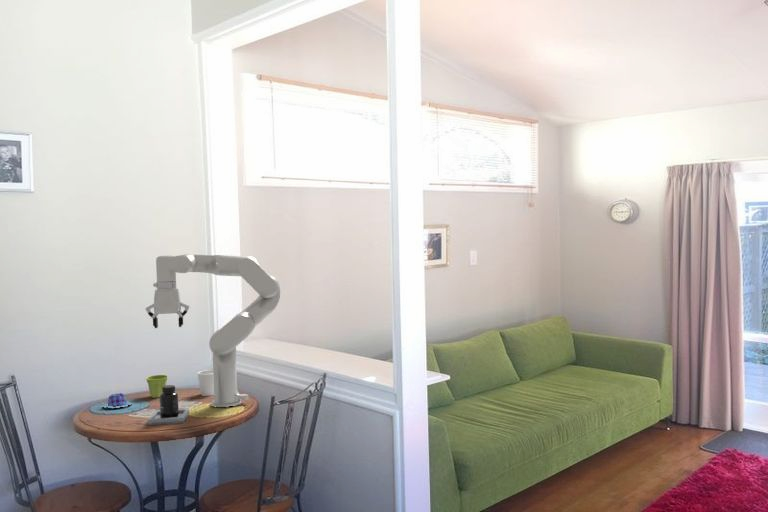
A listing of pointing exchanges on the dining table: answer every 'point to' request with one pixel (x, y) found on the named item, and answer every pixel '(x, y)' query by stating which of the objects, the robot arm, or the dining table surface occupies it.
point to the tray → (157, 420)
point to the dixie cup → (206, 382)
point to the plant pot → (156, 384)
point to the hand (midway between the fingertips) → (168, 327)
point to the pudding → (117, 400)
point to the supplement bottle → (169, 402)
